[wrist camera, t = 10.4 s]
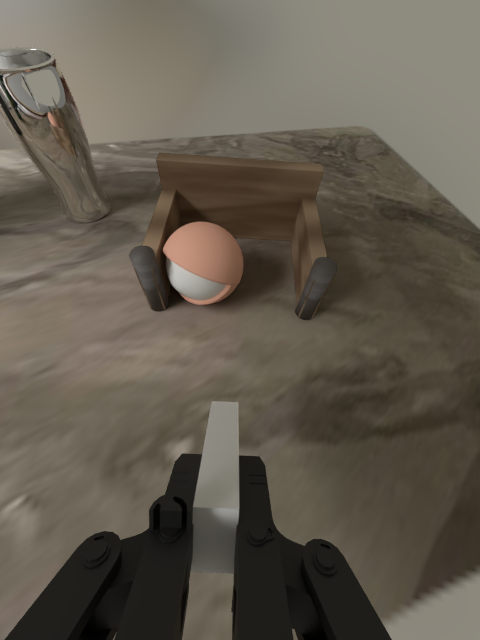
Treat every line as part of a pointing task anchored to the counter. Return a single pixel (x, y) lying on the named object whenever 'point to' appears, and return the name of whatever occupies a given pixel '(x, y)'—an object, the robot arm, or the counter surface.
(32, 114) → the beer glass
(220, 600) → the counter surface
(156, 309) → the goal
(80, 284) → the counter surface
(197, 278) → the toy ball
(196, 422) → the counter surface
